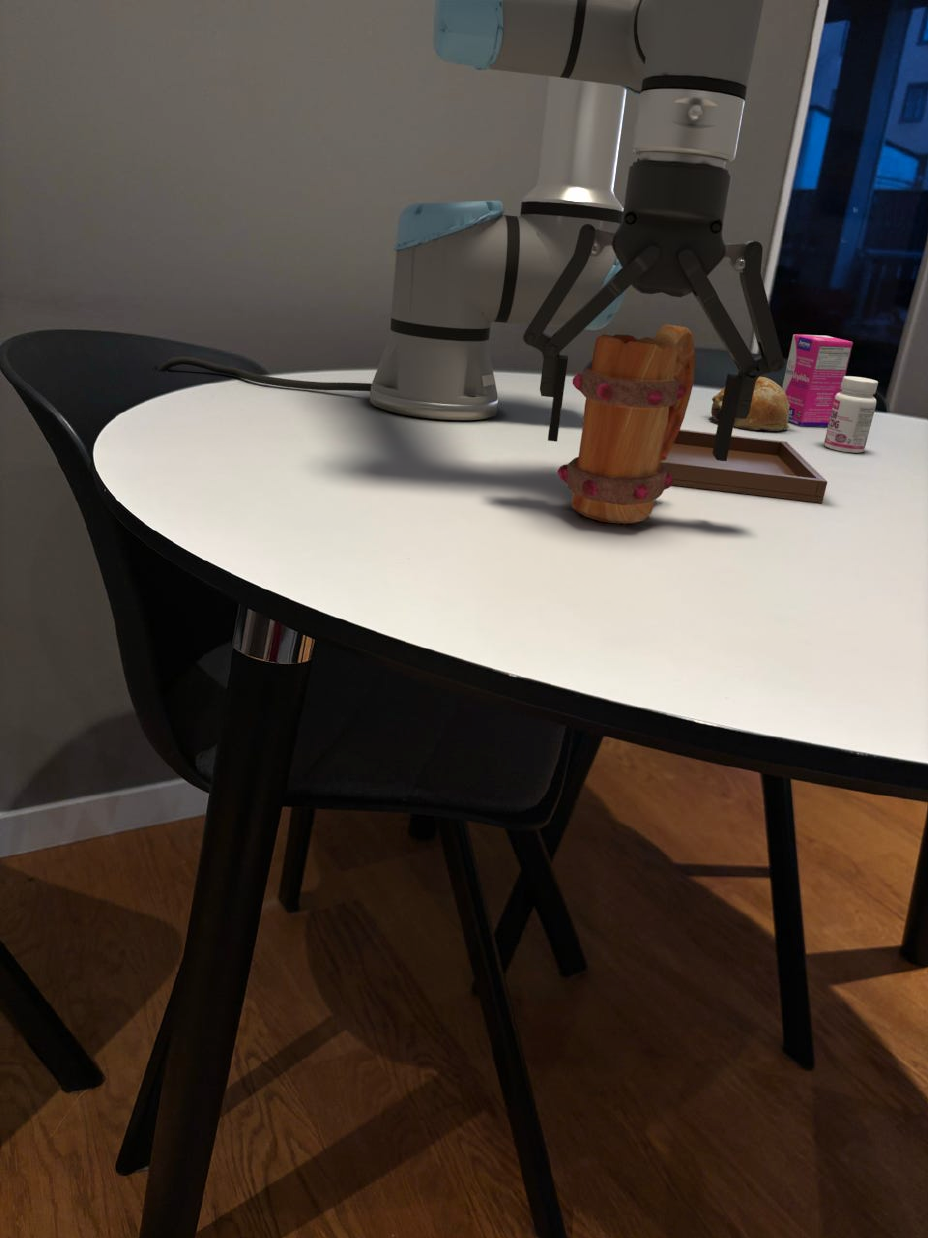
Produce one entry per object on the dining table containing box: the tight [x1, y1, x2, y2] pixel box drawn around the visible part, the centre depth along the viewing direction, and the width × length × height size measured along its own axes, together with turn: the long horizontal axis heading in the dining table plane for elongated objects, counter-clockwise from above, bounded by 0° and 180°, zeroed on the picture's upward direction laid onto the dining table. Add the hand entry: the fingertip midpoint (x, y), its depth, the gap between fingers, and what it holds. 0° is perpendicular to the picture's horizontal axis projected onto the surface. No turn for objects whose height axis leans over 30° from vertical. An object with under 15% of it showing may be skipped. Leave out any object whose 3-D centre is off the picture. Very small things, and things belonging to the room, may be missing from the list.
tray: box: [660, 428, 828, 504], centre depth 101 cm, size 21×19×2 cm
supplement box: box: [781, 333, 854, 428], centre depth 133 cm, size 6×6×12 cm
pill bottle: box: [823, 375, 879, 454], centre depth 118 cm, size 5×5×8 cm
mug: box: [557, 323, 696, 525], centre depth 79 cm, size 15×8×15 cm, turn 143°
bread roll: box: [710, 376, 790, 432], centre depth 128 cm, size 10×10×8 cm
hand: (635, 448), depth 80 cm, fingers open, 13 cm apart
